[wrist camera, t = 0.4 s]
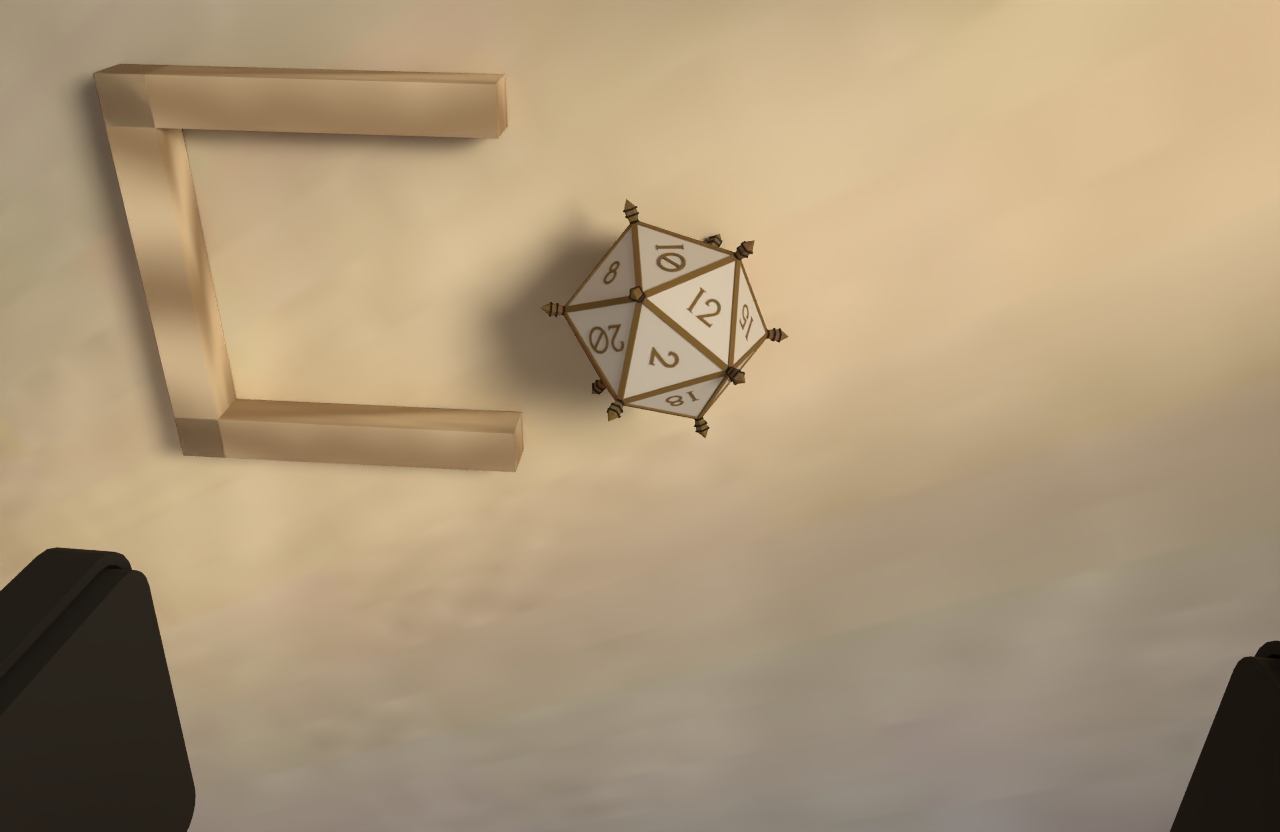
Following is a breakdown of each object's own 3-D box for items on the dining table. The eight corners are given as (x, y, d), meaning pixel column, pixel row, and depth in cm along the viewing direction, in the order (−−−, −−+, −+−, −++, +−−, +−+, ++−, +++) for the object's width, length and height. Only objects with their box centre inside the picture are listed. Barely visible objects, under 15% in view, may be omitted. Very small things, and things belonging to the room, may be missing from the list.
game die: (662, 294, 48) (559, 464, 43) (594, 149, 41) (466, 329, 37) (841, 316, 43) (745, 510, 38) (794, 155, 37) (674, 363, 32)
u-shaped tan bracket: (120, 64, 40) (92, 73, 39) (504, 74, 40) (494, 84, 38) (202, 434, 49) (183, 455, 47) (523, 449, 48) (515, 472, 46)
